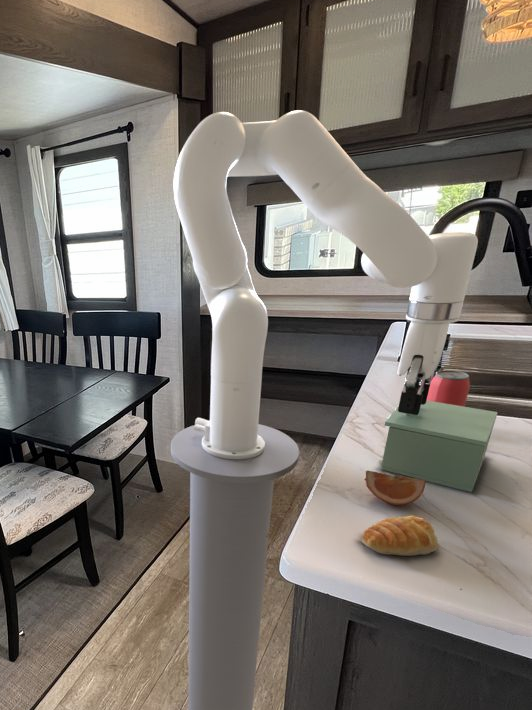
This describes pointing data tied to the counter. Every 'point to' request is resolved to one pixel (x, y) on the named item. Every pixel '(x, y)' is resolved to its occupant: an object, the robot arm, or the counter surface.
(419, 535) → the pastry
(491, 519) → the counter surface
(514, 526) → the counter surface
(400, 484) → the fruit slice
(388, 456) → the bin
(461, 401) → the beer can
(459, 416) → the bin lid
